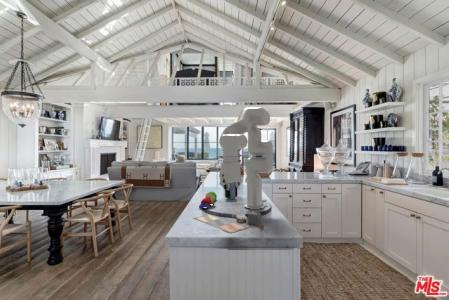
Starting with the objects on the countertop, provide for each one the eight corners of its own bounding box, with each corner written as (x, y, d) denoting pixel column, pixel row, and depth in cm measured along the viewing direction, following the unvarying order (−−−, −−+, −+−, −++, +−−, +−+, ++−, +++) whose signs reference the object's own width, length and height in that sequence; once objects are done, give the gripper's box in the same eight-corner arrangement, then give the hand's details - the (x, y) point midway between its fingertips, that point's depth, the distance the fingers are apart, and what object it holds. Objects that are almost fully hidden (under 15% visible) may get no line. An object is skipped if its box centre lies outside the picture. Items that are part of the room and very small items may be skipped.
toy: (210, 214, 171) (220, 198, 182) (207, 205, 167) (217, 189, 178) (199, 212, 175) (209, 197, 186) (195, 203, 171) (206, 188, 182)
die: (252, 220, 146) (251, 211, 145) (260, 222, 143) (260, 212, 143) (248, 223, 141) (247, 213, 141) (257, 224, 139) (256, 214, 138)
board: (209, 214, 158) (209, 214, 158) (249, 227, 134) (249, 227, 134) (192, 218, 151) (192, 218, 151) (230, 233, 126) (230, 233, 126)
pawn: (231, 199, 138) (231, 177, 137) (239, 201, 134) (239, 178, 133) (223, 201, 134) (223, 178, 134) (230, 202, 130) (230, 180, 130)
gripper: (238, 158, 141) (238, 193, 142) (212, 160, 131) (213, 198, 131) (248, 159, 136) (248, 195, 136) (222, 161, 125) (223, 201, 126)
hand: (231, 196), depth 134 cm, fingers closed on pawn, 4 cm apart
